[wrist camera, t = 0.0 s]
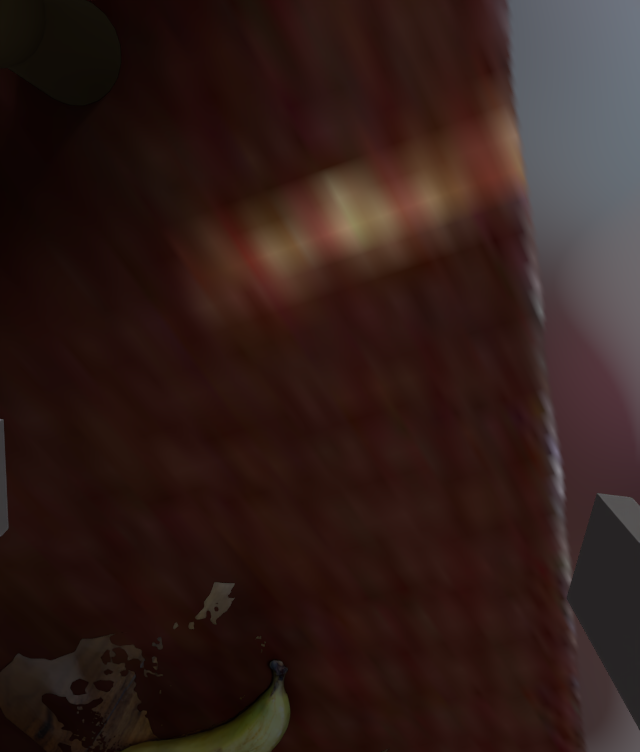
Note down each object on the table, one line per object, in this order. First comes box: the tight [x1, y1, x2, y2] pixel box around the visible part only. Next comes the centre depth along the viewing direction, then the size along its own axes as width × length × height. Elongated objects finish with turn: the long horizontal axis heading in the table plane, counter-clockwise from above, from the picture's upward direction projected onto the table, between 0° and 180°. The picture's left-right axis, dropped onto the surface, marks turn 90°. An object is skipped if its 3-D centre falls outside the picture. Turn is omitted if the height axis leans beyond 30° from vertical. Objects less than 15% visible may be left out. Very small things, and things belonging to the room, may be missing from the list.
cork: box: [0, 0, 121, 105], centre depth 31 cm, size 6×6×11 cm
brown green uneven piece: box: [0, 582, 388, 752], centre depth 50 cm, size 35×27×4 cm
